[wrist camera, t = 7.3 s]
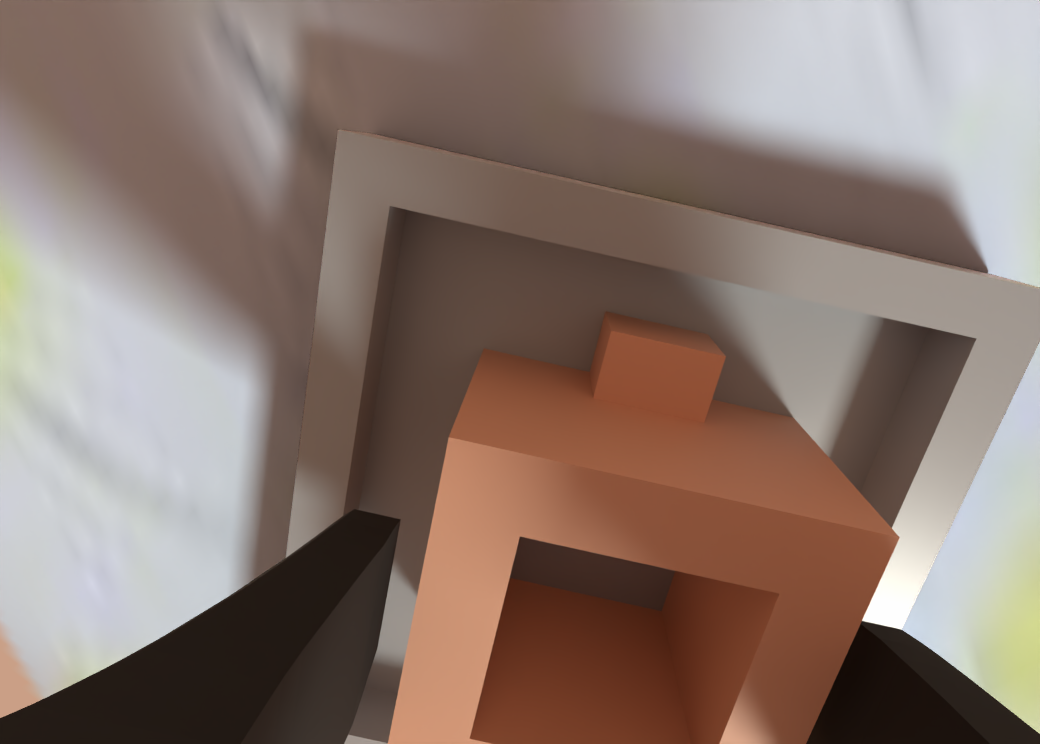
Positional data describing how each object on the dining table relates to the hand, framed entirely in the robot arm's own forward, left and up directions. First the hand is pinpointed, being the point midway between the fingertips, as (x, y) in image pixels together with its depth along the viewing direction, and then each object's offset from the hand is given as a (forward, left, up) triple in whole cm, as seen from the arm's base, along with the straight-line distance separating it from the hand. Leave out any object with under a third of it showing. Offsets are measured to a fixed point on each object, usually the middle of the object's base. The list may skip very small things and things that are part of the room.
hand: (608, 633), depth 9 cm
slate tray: (0, 0, -3) cm, 3 cm away
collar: (0, 0, -3) cm, 3 cm away
